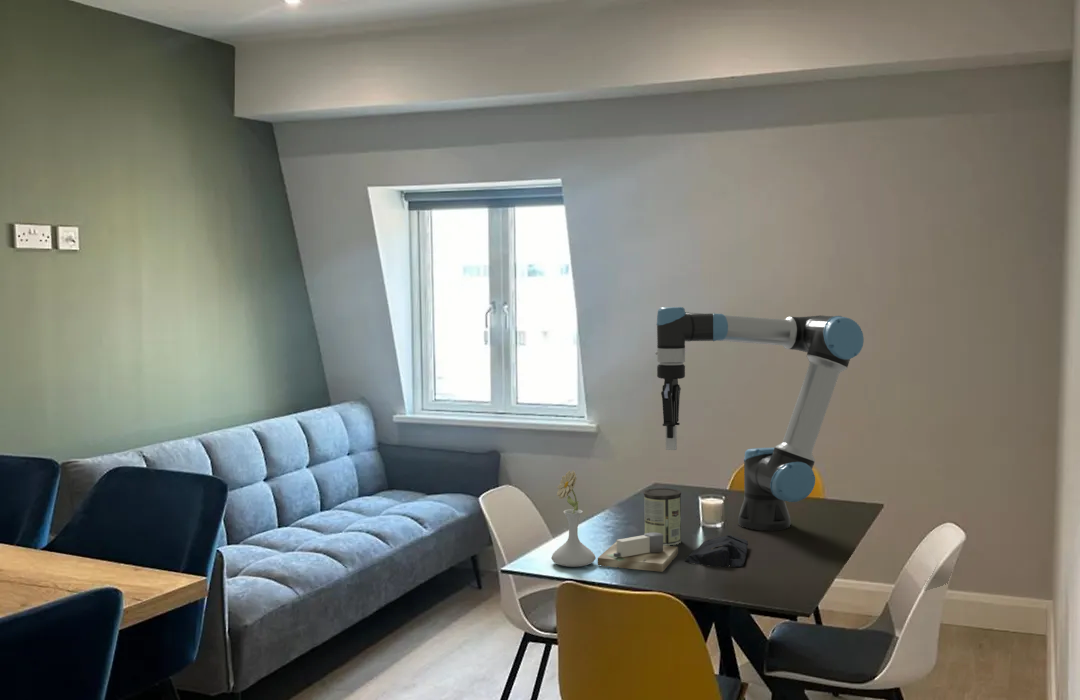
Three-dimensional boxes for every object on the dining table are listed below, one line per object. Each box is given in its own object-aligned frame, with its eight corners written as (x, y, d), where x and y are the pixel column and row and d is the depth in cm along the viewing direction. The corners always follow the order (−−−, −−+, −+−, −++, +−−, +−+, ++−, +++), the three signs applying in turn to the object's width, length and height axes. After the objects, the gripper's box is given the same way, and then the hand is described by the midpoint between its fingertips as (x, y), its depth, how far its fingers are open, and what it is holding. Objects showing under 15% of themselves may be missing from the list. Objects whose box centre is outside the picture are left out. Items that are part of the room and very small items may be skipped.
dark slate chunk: (756, 549, 271) (756, 531, 271) (741, 571, 251) (741, 552, 250) (701, 544, 277) (701, 527, 277) (682, 565, 256) (682, 546, 256)
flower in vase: (551, 558, 263) (550, 464, 261) (595, 558, 262) (594, 464, 261) (550, 572, 250) (549, 473, 248) (596, 572, 249) (595, 473, 248)
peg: (655, 546, 264) (655, 531, 264) (667, 550, 260) (667, 535, 259) (609, 554, 256) (609, 539, 256) (620, 559, 252) (620, 543, 252)
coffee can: (650, 535, 285) (650, 486, 284) (685, 539, 281) (685, 489, 280) (638, 544, 276) (638, 493, 275) (674, 548, 271) (674, 496, 270)
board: (677, 554, 265) (677, 546, 265) (661, 572, 248) (661, 564, 248) (616, 548, 271) (616, 541, 271) (596, 566, 254) (596, 558, 254)
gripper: (663, 361, 279) (663, 445, 281) (651, 365, 267) (651, 452, 269) (689, 362, 277) (689, 446, 278) (679, 365, 265) (679, 453, 266)
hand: (671, 449), depth 274 cm, fingers closed
